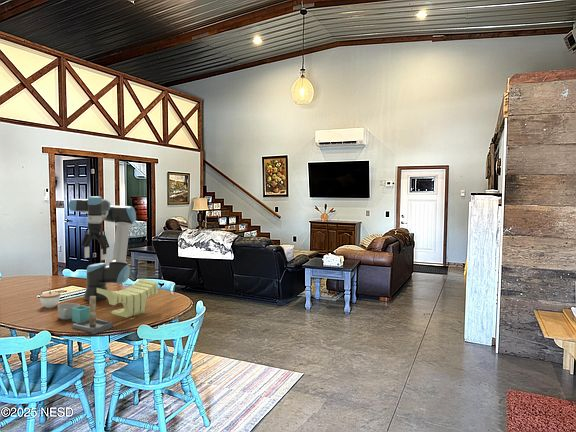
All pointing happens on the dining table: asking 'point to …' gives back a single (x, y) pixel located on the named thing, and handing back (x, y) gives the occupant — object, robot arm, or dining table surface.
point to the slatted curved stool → (131, 297)
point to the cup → (80, 313)
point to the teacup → (66, 310)
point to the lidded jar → (50, 299)
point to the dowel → (92, 311)
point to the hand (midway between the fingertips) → (95, 258)
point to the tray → (99, 327)
